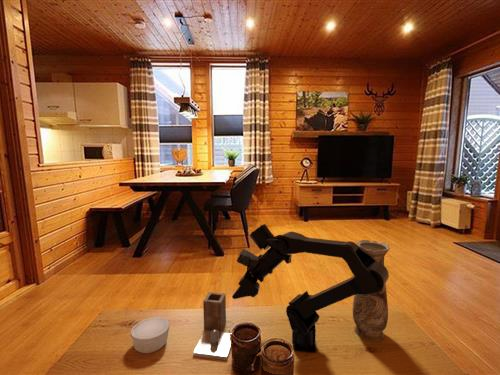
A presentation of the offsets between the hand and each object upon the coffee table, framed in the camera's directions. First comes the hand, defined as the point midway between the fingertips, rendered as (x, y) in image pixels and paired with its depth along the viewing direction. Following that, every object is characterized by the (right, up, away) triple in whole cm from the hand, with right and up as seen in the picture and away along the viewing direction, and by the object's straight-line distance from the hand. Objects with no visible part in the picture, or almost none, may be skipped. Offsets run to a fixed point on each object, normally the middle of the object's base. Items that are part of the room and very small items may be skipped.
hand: (236, 290), depth 88 cm
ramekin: (-26, -14, -6) cm, 30 cm away
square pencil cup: (-7, -13, +2) cm, 15 cm away
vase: (+44, -13, -2) cm, 46 cm away
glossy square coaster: (-6, -14, -8) cm, 17 cm away
